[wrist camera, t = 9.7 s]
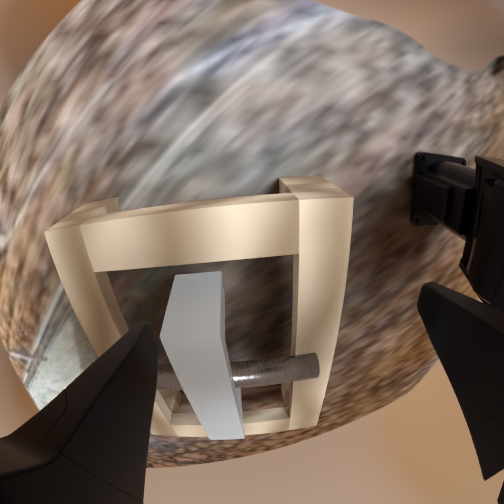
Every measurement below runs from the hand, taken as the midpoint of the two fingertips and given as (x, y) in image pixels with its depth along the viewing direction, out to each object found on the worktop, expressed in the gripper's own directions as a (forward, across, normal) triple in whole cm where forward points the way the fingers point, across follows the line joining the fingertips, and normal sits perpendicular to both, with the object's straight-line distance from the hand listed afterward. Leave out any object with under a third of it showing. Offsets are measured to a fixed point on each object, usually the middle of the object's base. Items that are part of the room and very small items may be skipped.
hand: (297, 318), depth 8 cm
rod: (+7, +5, +10) cm, 13 cm away
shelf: (+13, +5, +10) cm, 17 cm away
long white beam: (+9, +5, +10) cm, 14 cm away
